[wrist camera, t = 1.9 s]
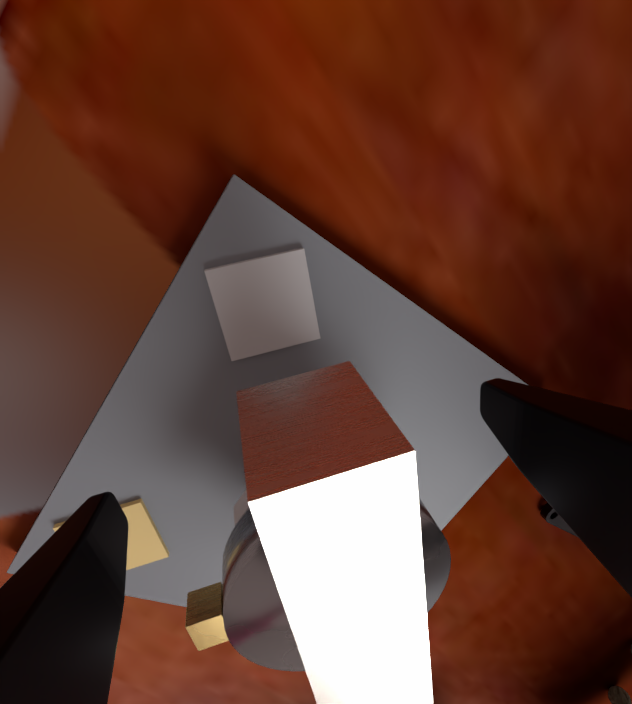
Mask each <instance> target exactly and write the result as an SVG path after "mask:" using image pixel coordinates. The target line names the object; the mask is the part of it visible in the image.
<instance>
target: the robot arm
mask: <svg viewBox="0 0 632 704" xmlns="http://www.w3.org/2000/svg"><path fill="white" fill-rule="evenodd" d="M480 413H481V416H482V418H483V420H484V421H485V423H486V424H487V426H488V427H489V428H490V430H491V431H492V433H493V434H494V435H495V437H496V438H497V440H498V441H499V443H500V444H501V445H502V447H503V448H504V450H505V451H506V452H507V454H508V455H509V457H510V458H511V459H512V461H513V462H514V463H515V465H516V466H517V467H518V469H519V470H520V471H521V472H522V473H523V475H524V476H525V477H526V478H527V479H528V480H529V481H530V483H531V484H532V485H533V486H534V487H535V488H536V489H537V491H538V492H539V493H540V494H541V495H542V496H543V497H544V499H545V500H546V501H547V502H548V503H547V504H546V505H545V506H544V507H543V509H542V510H541V512H540V514H541V516H542V517H543V518H544V519H545V520H546V521H547V522H548V523H550V524H552V525H554V526H556V527H558V528H561V529H563V530H565V531H567V532H569V533H571V534H573V535H575V536H577V537H579V538H580V539H581V541H582V542H583V543H584V544H585V545H586V546H587V547H588V549H589V550H590V551H591V552H592V553H593V554H594V555H595V556H596V558H597V559H598V560H599V561H600V562H601V563H602V564H603V566H604V567H605V568H606V569H607V570H608V571H609V572H610V574H611V575H612V576H613V577H614V578H615V579H616V580H617V581H618V583H619V584H620V585H621V586H622V587H623V588H624V589H625V591H626V592H627V593H628V594H629V595H630V596H631V597H632V410H628V409H624V408H620V407H616V406H611V405H607V404H603V403H599V402H595V401H591V400H587V399H583V398H579V397H575V396H571V395H566V394H562V393H558V392H554V391H550V390H546V389H542V388H538V387H534V386H530V385H526V384H521V383H517V382H513V381H509V380H505V379H501V378H495V379H491V380H488V381H485V382H483V383H482V384H481V387H480ZM127 547H128V520H127V517H126V515H125V513H124V512H123V510H122V508H121V506H120V504H119V503H118V501H117V499H116V497H115V496H114V494H113V493H112V492H104V493H100V494H97V495H93V496H91V497H89V498H88V499H87V500H86V501H85V502H84V503H83V504H82V505H81V506H80V507H79V508H78V509H77V510H76V511H75V512H74V513H73V514H72V515H71V516H70V517H69V518H68V519H67V520H66V521H65V522H64V523H63V525H62V526H61V527H60V528H59V529H58V530H57V531H56V532H55V533H54V534H53V535H52V536H51V537H50V538H49V539H48V540H47V541H46V542H45V543H44V544H43V545H42V546H41V547H40V548H39V549H38V550H37V551H36V552H35V553H34V554H33V555H32V556H31V557H30V558H29V559H28V560H27V561H26V562H25V563H24V564H23V566H22V567H21V568H20V569H19V570H18V571H17V572H16V573H15V574H14V575H13V576H12V577H11V578H10V579H9V580H8V581H7V582H6V583H5V584H4V585H3V586H2V587H1V588H0V704H107V702H108V696H109V690H110V684H111V678H112V672H113V666H114V660H115V654H116V648H117V642H118V636H119V630H120V624H121V618H122V612H123V605H124V597H125V584H126V565H127Z"/></svg>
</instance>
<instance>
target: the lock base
mask: <svg viewBox="0 0 632 704" xmlns="http://www.w3.org/2000/svg"><path fill="white" fill-rule="evenodd" d="M347 361H350V362H351V363H352V365H353V366H354V368H355V369H356V370H357V372H358V373H359V374H360V376H361V377H362V379H363V380H364V381H365V383H366V384H367V385H368V387H369V388H370V389H371V391H372V392H373V394H374V395H375V396H376V398H377V399H378V400H379V402H380V403H381V404H382V406H383V407H384V409H385V410H386V411H387V413H388V414H389V415H390V417H391V418H392V419H393V421H394V422H395V424H396V425H397V426H398V428H399V429H400V430H401V432H402V433H403V435H404V436H405V437H406V439H407V440H408V441H409V443H410V444H411V445H412V447H413V448H414V450H415V454H416V468H417V482H418V496H419V497H420V499H421V501H422V502H423V504H424V505H425V507H426V508H427V510H428V511H429V513H430V515H431V516H432V518H433V519H434V521H435V522H436V524H437V526H438V527H439V529H440V530H442V529H443V528H444V527H445V526H446V525H447V523H448V522H449V521H450V520H451V519H452V518H453V517H454V516H455V515H456V513H457V512H458V511H459V510H460V509H461V508H462V507H463V506H464V504H465V503H466V502H467V501H468V500H469V499H470V498H471V497H472V496H473V494H474V493H475V492H476V491H477V490H478V489H479V488H480V487H481V485H482V484H483V483H484V482H485V481H486V480H487V479H488V478H489V477H490V475H491V474H492V473H493V472H494V471H495V470H496V469H497V468H498V466H499V465H500V464H501V463H502V462H503V461H504V460H505V459H506V458H507V456H508V454H507V452H506V451H505V450H504V448H503V447H502V445H501V444H500V443H499V441H498V440H497V438H496V437H495V435H494V434H493V433H492V431H491V430H490V428H489V427H488V426H487V424H486V423H485V421H484V420H483V418H482V416H481V413H480V387H481V384H482V383H483V382H485V381H488V380H491V379H495V378H501V379H505V380H509V381H513V382H517V383H521V384H526V383H525V382H523V381H522V380H521V379H519V378H518V377H516V376H515V375H514V374H512V373H511V372H509V371H508V370H507V369H505V368H504V367H502V366H501V365H500V364H498V363H497V362H495V361H494V360H493V359H491V358H490V357H488V356H487V355H486V354H484V353H483V352H481V351H480V350H479V349H477V348H476V347H474V346H473V345H472V344H470V343H469V342H467V341H466V340H465V339H463V338H462V337H461V336H459V335H458V334H456V333H455V332H454V331H452V330H451V329H449V328H448V327H447V326H445V325H444V324H442V323H441V322H440V321H438V320H437V319H435V318H434V317H433V316H431V315H430V314H428V313H427V312H426V311H424V310H423V309H421V308H420V307H419V306H417V305H416V304H414V303H413V302H412V301H410V300H409V299H407V298H406V297H405V296H403V295H402V294H400V293H399V292H398V291H396V290H395V289H394V288H392V287H391V286H389V285H388V284H387V283H385V282H384V281H382V280H381V279H380V278H378V277H377V276H375V275H374V274H373V273H371V272H370V271H368V270H367V269H366V268H364V267H363V266H361V265H360V264H359V263H357V262H356V261H354V260H353V259H352V258H350V257H349V256H347V255H346V254H345V253H343V252H342V251H340V250H339V249H338V248H336V247H335V246H333V245H332V244H331V243H329V242H328V241H327V240H325V239H324V238H322V237H321V236H320V235H318V234H317V233H315V232H314V231H313V230H311V229H310V228H308V227H307V226H306V225H304V224H303V223H301V222H300V221H299V220H297V219H296V218H294V217H293V216H292V215H290V214H289V213H287V212H286V211H285V210H283V209H282V208H280V207H279V206H278V205H276V204H275V203H273V202H272V201H271V200H269V199H268V198H267V197H265V196H264V195H262V194H261V193H260V192H258V191H257V190H255V189H254V188H253V187H251V186H250V185H248V184H247V183H246V182H244V181H243V180H241V179H240V178H239V177H237V176H236V175H234V174H233V175H232V177H231V179H230V181H229V182H228V184H227V186H226V188H225V189H224V191H223V193H222V195H221V196H220V198H219V200H218V202H217V203H216V205H215V207H214V209H213V211H212V212H211V214H210V216H209V218H208V219H207V221H206V223H205V225H204V226H203V228H202V230H201V232H200V233H199V235H198V237H197V239H196V240H195V242H194V244H193V246H192V247H191V249H190V251H189V253H188V254H187V256H186V258H185V260H184V261H183V263H182V265H181V267H180V268H179V270H178V272H177V274H176V275H175V277H174V279H173V281H172V282H171V284H170V286H169V288H168V289H167V291H166V293H165V295H164V297H163V298H162V300H161V302H160V303H159V305H158V307H157V309H156V310H155V312H154V314H153V316H152V317H151V319H150V321H149V323H148V324H147V326H146V328H145V330H144V331H143V333H142V335H141V337H140V338H139V340H138V342H137V344H136V345H135V347H134V349H133V351H132V352H131V354H130V356H129V358H128V359H127V361H126V363H125V365H124V366H123V368H122V370H121V372H120V373H119V375H118V377H117V379H116V380H115V382H114V384H113V386H112V387H111V389H110V391H109V393H108V394H107V396H106V398H105V400H104V401H103V403H102V405H101V407H100V408H99V410H98V412H97V414H96V415H95V417H94V419H93V421H92V423H91V424H90V426H89V428H88V429H87V431H86V433H85V435H84V436H83V438H82V440H81V442H80V444H79V445H78V447H77V449H76V450H75V452H74V454H73V456H72V458H71V459H70V461H69V463H68V465H67V466H66V468H65V470H64V471H63V473H62V475H61V477H60V478H59V480H58V482H57V484H56V486H55V487H54V489H53V491H52V492H51V494H50V496H49V498H48V499H47V501H46V503H45V505H44V506H43V508H42V510H41V512H40V513H39V515H38V517H37V519H36V520H35V522H34V524H33V526H32V527H31V529H30V531H29V533H28V534H27V536H26V538H25V540H24V541H23V543H22V545H21V547H20V548H19V550H18V552H17V554H16V556H15V558H14V559H13V561H12V563H11V565H10V567H9V569H8V571H7V573H11V574H15V573H16V572H17V571H18V570H19V569H20V568H21V567H22V566H23V564H24V563H25V562H26V561H27V560H28V559H29V558H30V557H31V556H32V555H33V554H34V553H35V552H36V551H37V550H38V549H39V548H40V547H41V546H42V545H43V544H44V543H45V542H46V541H47V540H48V539H49V538H50V537H51V536H52V535H53V534H54V533H55V532H56V531H57V530H58V529H59V528H60V527H61V526H62V525H63V523H64V522H65V521H66V520H67V519H68V518H69V517H70V516H71V515H72V514H73V513H74V512H75V511H76V510H77V509H78V508H79V507H80V506H81V505H82V504H83V503H84V502H85V501H86V500H87V499H88V498H89V497H91V496H93V495H97V494H100V493H104V492H112V493H113V494H114V496H115V497H116V499H117V501H118V503H119V504H120V506H121V508H122V510H123V512H124V513H125V515H126V517H127V520H128V547H127V565H126V584H125V595H126V596H131V597H137V598H142V599H147V600H152V601H158V602H163V603H168V604H173V605H179V606H184V607H187V594H188V592H191V591H194V590H197V589H200V588H203V587H206V586H209V585H212V584H215V583H218V582H221V583H222V561H223V553H224V549H225V546H226V543H227V540H228V538H229V536H230V534H231V532H232V530H233V529H234V527H235V526H236V524H237V523H238V521H239V520H240V519H241V518H242V516H243V515H244V514H245V513H246V512H247V511H248V510H249V509H250V507H249V505H248V500H247V490H246V481H245V471H244V462H243V452H242V442H241V433H240V423H239V413H238V404H237V394H236V391H239V390H243V389H246V388H250V387H254V386H258V385H261V384H265V383H269V382H273V381H276V380H280V379H284V378H287V377H291V376H295V375H299V374H302V373H306V372H310V371H313V370H317V369H321V368H325V367H328V366H332V365H336V364H340V363H343V362H347ZM526 385H527V384H526Z"/></svg>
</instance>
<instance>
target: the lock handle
mask: <svg viewBox="0 0 632 704" xmlns="http://www.w3.org/2000/svg"><path fill="white" fill-rule="evenodd" d="M236 394H237V404H238V413H239V423H240V433H241V442H242V452H243V462H244V471H245V481H246V490H247V500H248V505H249V507H250V509H249V510H248V511H247V512H246V513H245V514H244V515H243V516H242V518H241V519H240V520H239V521H238V523H237V524H236V526H235V527H234V529H233V530H232V532H231V534H230V536H229V538H228V540H227V543H226V546H225V549H224V553H223V561H222V583H221V582H218V583H215V584H212V585H209V586H206V587H203V588H200V589H197V590H194V591H191V592H188V594H187V610H186V626H185V627H186V629H187V631H188V633H189V635H190V636H191V638H192V640H193V642H194V644H195V646H196V647H197V649H198V651H200V650H203V649H206V648H209V647H211V646H214V645H217V644H220V643H223V642H225V641H228V640H229V641H230V643H231V644H232V646H233V647H234V648H235V649H236V650H237V651H238V652H239V653H240V654H241V655H242V656H244V657H245V658H247V659H248V660H250V661H252V662H254V663H256V664H258V665H261V666H264V667H267V668H271V669H277V670H284V671H306V673H307V676H308V679H309V682H310V684H311V687H312V690H313V693H314V696H315V699H316V702H317V704H433V692H432V678H431V664H430V650H429V636H428V622H427V613H428V611H429V610H430V609H431V608H432V607H433V605H434V604H435V602H436V601H437V599H438V598H439V596H440V594H441V593H442V591H443V589H444V587H445V584H446V582H447V579H448V575H449V571H450V563H451V556H450V549H449V546H448V543H447V540H446V539H445V537H444V535H443V533H442V532H441V530H440V529H439V527H438V526H437V524H436V522H435V521H434V519H433V518H432V516H431V515H430V513H429V511H428V510H427V508H426V507H425V505H424V504H423V502H422V501H421V499H420V497H419V496H418V482H417V468H416V454H415V450H414V448H413V447H412V445H411V444H410V443H409V441H408V440H407V439H406V437H405V436H404V435H403V433H402V432H401V430H400V429H399V428H398V426H397V425H396V424H395V422H394V421H393V419H392V418H391V417H390V415H389V414H388V413H387V411H386V410H385V409H384V407H383V406H382V404H381V403H380V402H379V400H378V399H377V398H376V396H375V395H374V394H373V392H372V391H371V389H370V388H369V387H368V385H367V384H366V383H365V381H364V380H363V379H362V377H361V376H360V374H359V373H358V372H357V370H356V369H355V368H354V366H353V365H352V363H351V362H350V361H347V362H343V363H340V364H336V365H332V366H328V367H325V368H321V369H317V370H313V371H310V372H306V373H302V374H299V375H295V376H291V377H287V378H284V379H280V380H276V381H273V382H269V383H265V384H261V385H258V386H254V387H250V388H246V389H243V390H239V391H236Z"/></svg>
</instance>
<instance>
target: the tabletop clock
mask: <svg viewBox="0 0 632 704" xmlns="http://www.w3.org/2000/svg"><path fill="white" fill-rule="evenodd" d="M631 653H632V644H631ZM608 697H609V700H610V701H611V703H612V704H631V698H630V696H629V695H628V693H627V692H626V691H625V690H624V689H622V688H621V687H619V686H612V687H610V688H609V691H608Z"/></svg>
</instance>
